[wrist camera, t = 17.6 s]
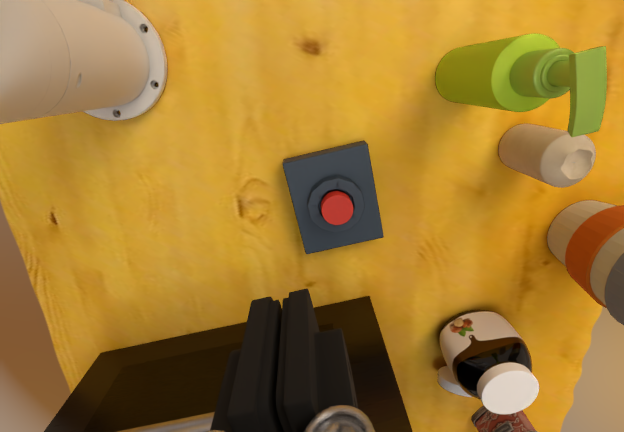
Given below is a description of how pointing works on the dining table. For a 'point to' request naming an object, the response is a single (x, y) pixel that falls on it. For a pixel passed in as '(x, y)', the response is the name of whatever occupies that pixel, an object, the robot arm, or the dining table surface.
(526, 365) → the spread jar
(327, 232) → the dark grey flat block
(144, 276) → the dining table surface
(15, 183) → the dining table surface
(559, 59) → the soap dispenser
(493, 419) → the lighter
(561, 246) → the reusable coffee cup
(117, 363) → the oven door
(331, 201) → the timer button
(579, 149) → the candle
